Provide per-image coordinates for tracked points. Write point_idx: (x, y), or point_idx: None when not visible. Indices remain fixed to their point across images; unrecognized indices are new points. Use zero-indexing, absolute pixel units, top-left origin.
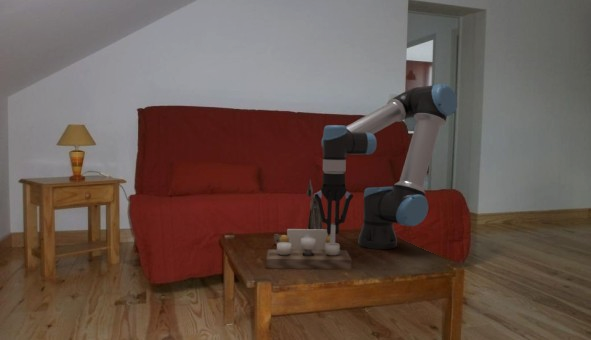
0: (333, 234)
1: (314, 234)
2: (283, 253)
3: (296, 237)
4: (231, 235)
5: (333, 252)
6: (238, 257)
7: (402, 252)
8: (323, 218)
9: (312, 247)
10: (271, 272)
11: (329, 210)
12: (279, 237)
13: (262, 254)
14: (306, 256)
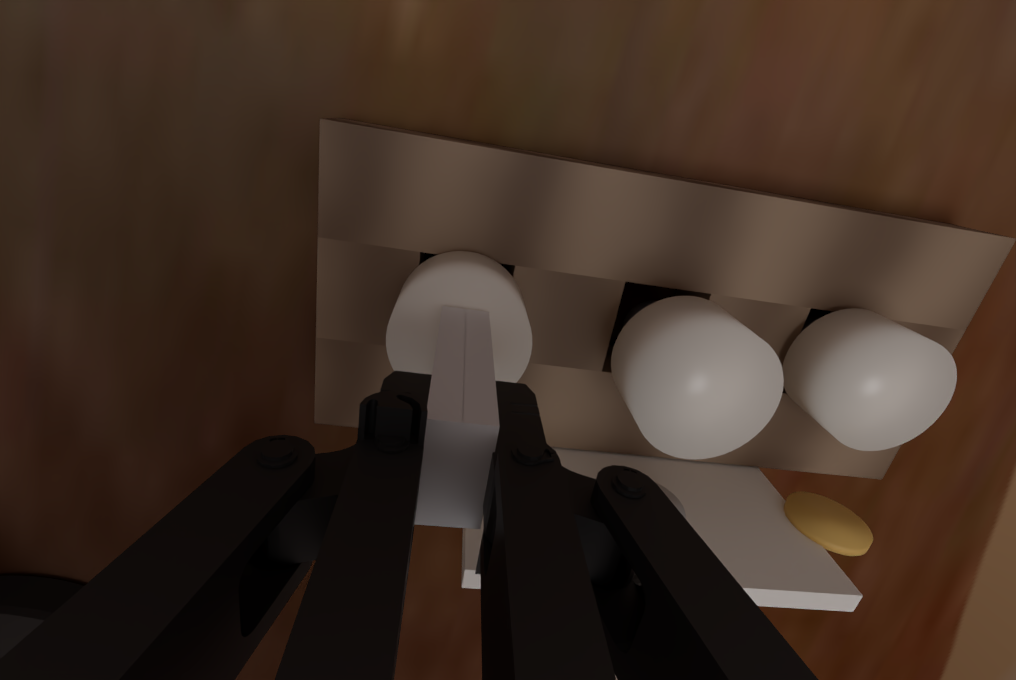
0: (459, 355)
1: None
2: (873, 312)
3: (739, 530)
4: None
5: (466, 257)
6: (997, 466)
7: None
8: (650, 517)
9: (664, 307)
10: (964, 117)
11: (568, 669)
12: None
13: None
14: (689, 276)
